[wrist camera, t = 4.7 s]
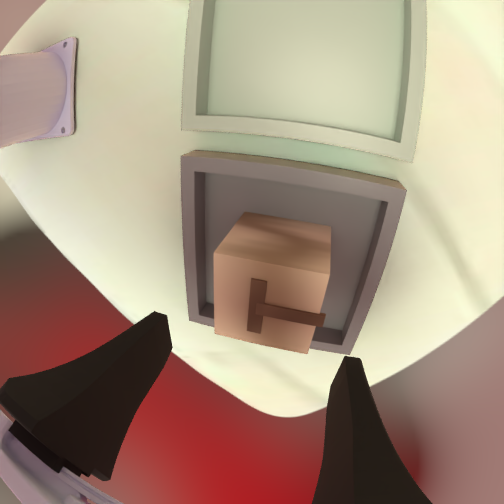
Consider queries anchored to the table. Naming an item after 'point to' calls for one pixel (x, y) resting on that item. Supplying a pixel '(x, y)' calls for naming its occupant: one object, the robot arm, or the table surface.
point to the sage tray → (308, 71)
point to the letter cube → (272, 281)
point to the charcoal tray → (297, 208)
